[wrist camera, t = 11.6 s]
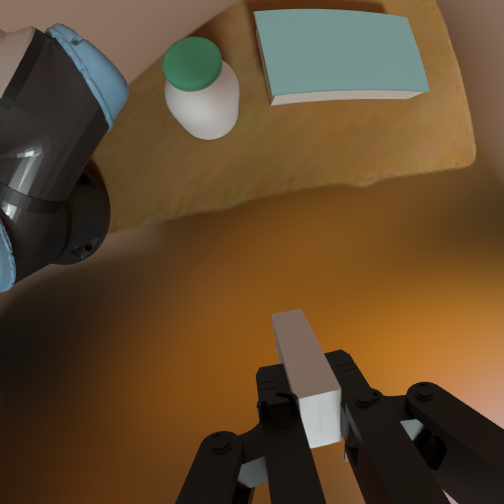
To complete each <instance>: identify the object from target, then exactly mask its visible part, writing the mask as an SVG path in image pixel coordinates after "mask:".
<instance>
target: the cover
mask: <svg viewBox="0 0 504 504" xmlns="http://www.w3.org/2000/svg"><path fill="white" fill-rule="evenodd" d="M253 15H254V19H255V23H256V27H257V32H258V36H259V40H260V45H261V49H262V54H263V59H264V63H265V68H266V73H267V78H268V82H269V87H270V92H271V96H279V95H289V94H300V93H313V92H329V91H360V90H383V91H413V92H429V91H430V89H429V85H428V82H427V78H426V74H425V71H424V67H423V64H422V60H421V57H420V54H419V51H418V48H417V45H416V42H415V39H414V36H413V33H412V30H411V27H410V25H409V22H408V19H407V17H402V16H396V15H389V14H381V13H373V12H363V11H351V10H333V9H285V10H267V11H255V12H254V14H253Z"/></svg>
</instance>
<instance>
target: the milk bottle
mask: <svg viewBox="0 0 504 504" xmlns="http://www.w3.org/2000/svg"><path fill="white" fill-rule="evenodd" d="M162 69H163V73H164V75H165V77H166V79H167V80H166V83H165V99H166V103H167V105H168V108H169V109H170V111H171V112H172V114H173V115H174V117H175V118H176V119H177V120H178V121H179V122H180V124H181V125H182V126H183V127H184V128H185V129H186V130H187V131H188V132H189V133H191V134H192V135H193V136H195V137H197V138H200V139H206V140H211V139H217V138H220V137H222V136H224V135H225V134H227V133H228V132H229V131H230V130H231V129H232V128H233V127H234V125H235V123H236V121H237V117H238V111H239V96H240V92H239V83H238V79H237V77H236V74H235V73H234V71H233V70H232V68H231V67H230V66H229V65H228V64H227V63H226V62H224V61H223V60H222V56H221V52H220V50H219V48H218V47H217V46H216V45H215V44H214V43H213V42H212V41H210V40H208V39H206V38H202V37H187V38H184V39H181V40H179V41H177V42H176V43H174V44H173V45H172V46H171V47H170V48H169V49H168V50H167V52H166V53H165V55H164V58H163V63H162Z"/></svg>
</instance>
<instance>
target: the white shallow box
mask: <svg viewBox="0 0 504 504" xmlns="http://www.w3.org/2000/svg"><path fill="white" fill-rule="evenodd" d="M255 33H256V38H257V43H258V47H259V52H260V57H261V61H262V66H263V71H264V76H265V81H266V86H267V91H268V96H269V101H270V106H272V105H280V104H289V103H299V102H311V101H325V100H343V99H408V98H411V97H413V96H416V95H419V94H421V93H424V92H413V91H383V90H360V91H329V92H313V93H300V94H289V95H279V96H271V92H270V87H269V82H268V78H267V73H266V68H265V63H264V59H263V54H262V49H261V45H260V40H259V36H258V32H257V27H256V32H255Z"/></svg>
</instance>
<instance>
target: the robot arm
mask: <svg viewBox="0 0 504 504" xmlns="http://www.w3.org/2000/svg"><path fill="white" fill-rule="evenodd" d="M127 98H128V85H127V82H126V80H125V79H124V77H123V75H122V74H121V73H120V71H119V70H118V69H117V68H116V67H115V66H114V65H113V63H112V62H111V61H110V60H109V59H108V58H107V57H106V56H105V55H104V54H102V53H101V52H100V51H99V50H98V49H97V48H96V47H95V46H94V45H92V44H91V43H90V42H89V41H87V40H84V39H83V38H82V37H81V36H80V35H78V34H77V33H76V32H75V31H74V30H72V29H71V28H69V27H67V26H65V25H63V24H54V25H53V26H51V27H49V28H48V29H47V30H46V31H45V33H43V32H41V31H40V30H38V29H36V28H35V27H33V26H30V27H26V28H23V29H20V30H18V31H15V32H9V33H6V32H4V31H2V30H1V29H0V292H2V291H7V290H8V289H10V288H11V286H13V285H14V284H16V283H18V282H19V281H21V280H23V279H24V278H26V277H28V276H30V275H32V274H33V273H35V272H37V271H38V270H40V269H42V268H44V267H46V266H48V265H49V264H56V265H72V264H76V263H79V262H81V261H83V260H85V259H86V258H88V257H90V256H91V255H92V254H94V253H95V252H96V251H97V249H98V248H99V247H100V246H101V244H102V243H103V241H104V239H105V237H106V234H107V231H108V228H109V222H110V205H109V199H108V196H107V193H106V190H105V188H104V186H103V184H102V182H101V181H100V179H99V178H98V177H97V176H96V174H95V173H94V172H92V171H91V170H90V169H88V168H87V167H85V166H86V165H87V163H88V161H89V160H90V158H91V156H92V154H93V153H94V151H95V150H96V148H97V146H98V145H99V143H100V141H101V140H102V138H103V137H104V135H105V134H106V132H107V131H110V130H111V128H112V126H113V122H114V120H115V118H116V117H117V115H118V114H119V112H120V110H121V109H122V107H123V106H124V104H125V103H126V101H127ZM271 316H272V322H273V328H274V335H275V341H276V347H277V353H278V359H279V363H280V364H276V365H271V366H266V367H260V368H259V370H258V372H257V374H256V382H257V390H258V398H259V401H258V402H257V411H258V415H259V419H260V421H259V423H258V424H257V425H256V427H254V428H253V429H252V430H250V431H248V432H246V433H244V434H241V435H236V434H234V433H232V432H228V431H221V432H216V433H213V434H210V435H209V436H207V437H206V438H205V439H204V440H203V442H202V443H201V445H200V447H199V450H198V452H197V454H196V457H195V459H194V461H193V464H192V466H191V468H190V471H189V473H188V475H187V478H186V480H185V483H184V485H183V487H182V489H181V492H180V494H179V496H178V498H177V501H176V503H175V504H252V500H253V495H254V491H255V486H257V485H259V484H261V483H264V482H266V481H268V483H269V491H270V498H271V504H326V501H325V498H324V494H323V491H322V487H321V484H320V480H319V477H318V474H317V470H316V467H315V463H314V460H313V456H312V453H311V450H310V448H315V447H319V446H323V445H327V444H331V443H335V442H338V441H341V433H342V435H343V437H344V440H345V452H344V453H345V454H344V460H345V462H347V461H348V459H349V462H350V464H351V467H352V470H353V472H354V475H355V477H356V480H357V483H358V485H359V488H360V490H361V493H362V495H363V498H364V500H365V503H366V504H450V502H449V500H448V498H447V497H446V495H445V493H444V492H443V490H444V491H445V492H446V493H447V494H448V495H449V496H451V497H452V498H453V499H454V500H455V501H456V502H457V503H458V504H504V429H502V428H501V427H499V426H498V425H496V424H495V423H493V422H492V421H490V420H489V419H487V418H486V417H484V416H483V415H481V414H480V413H478V412H477V411H475V410H474V409H472V408H471V407H469V406H468V405H466V404H465V403H463V402H462V401H460V400H459V399H457V398H456V397H454V396H453V395H452V394H450V393H449V392H447V391H446V390H444V389H442V388H441V387H439V386H438V385H436V384H434V383H431V382H420V383H416V384H414V385H412V386H411V387H410V388H409V389H408V391H407V393H406V395H400V396H383V394H381V392H379V391H378V390H376V389H373V388H371V387H370V386H369V384H368V383H367V381H366V379H365V378H364V376H363V375H362V373H361V372H360V370H359V369H358V367H357V365H356V364H355V363H354V361H353V359H352V357H351V356H350V355H349V354H348V353H346V352H345V351H343V350H337V351H333V352H329V353H325V354H324V353H323V351H322V349H321V347H320V345H319V343H318V342H317V339H316V337H315V336H314V334H313V332H312V330H311V328H310V326H309V324H308V322H307V320H306V318H305V316H304V314H303V312H302V310H301V309H297V310H292V311H287V312H282V313H277V314H272V315H271ZM442 489H443V490H442Z"/></svg>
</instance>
